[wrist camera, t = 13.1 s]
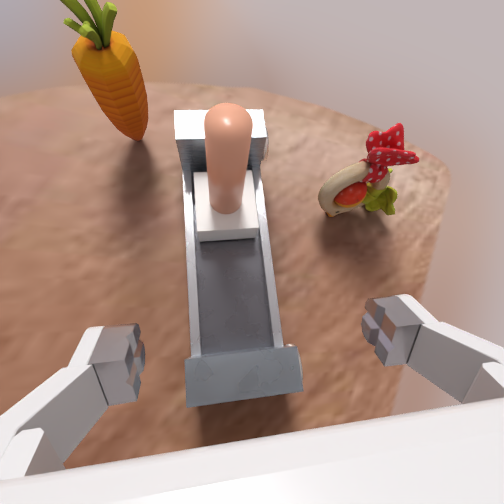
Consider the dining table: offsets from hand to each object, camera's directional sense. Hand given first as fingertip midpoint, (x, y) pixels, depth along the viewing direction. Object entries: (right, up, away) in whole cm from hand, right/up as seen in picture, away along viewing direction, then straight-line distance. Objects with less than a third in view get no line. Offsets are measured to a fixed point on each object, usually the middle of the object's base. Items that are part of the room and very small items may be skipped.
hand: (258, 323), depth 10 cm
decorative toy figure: (+11, +8, +23) cm, 27 cm away
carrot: (-13, +15, +23) cm, 31 cm away
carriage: (-3, +7, +19) cm, 21 cm away
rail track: (-3, +2, +20) cm, 20 cm away
